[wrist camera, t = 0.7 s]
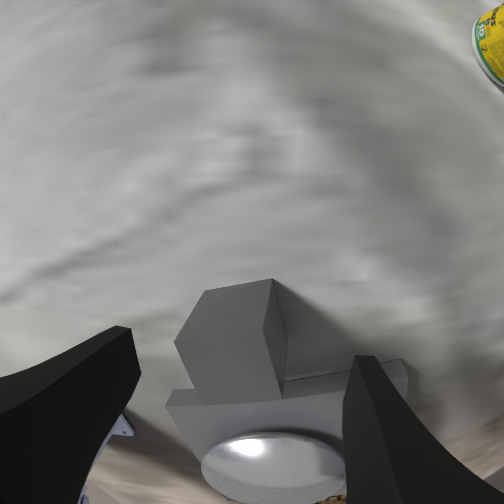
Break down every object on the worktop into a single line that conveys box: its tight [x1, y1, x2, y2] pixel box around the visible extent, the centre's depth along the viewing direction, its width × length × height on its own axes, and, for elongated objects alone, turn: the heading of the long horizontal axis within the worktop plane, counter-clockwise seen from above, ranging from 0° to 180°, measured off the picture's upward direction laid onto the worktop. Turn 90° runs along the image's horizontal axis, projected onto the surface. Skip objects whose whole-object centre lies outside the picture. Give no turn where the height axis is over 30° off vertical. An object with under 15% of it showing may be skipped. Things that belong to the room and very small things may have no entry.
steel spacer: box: [174, 278, 288, 406], centre depth 18 cm, size 4×4×6 cm
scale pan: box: [201, 432, 346, 504], centre depth 22 cm, size 12×12×1 cm
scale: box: [165, 359, 408, 501], centre depth 21 cm, size 18×16×7 cm
